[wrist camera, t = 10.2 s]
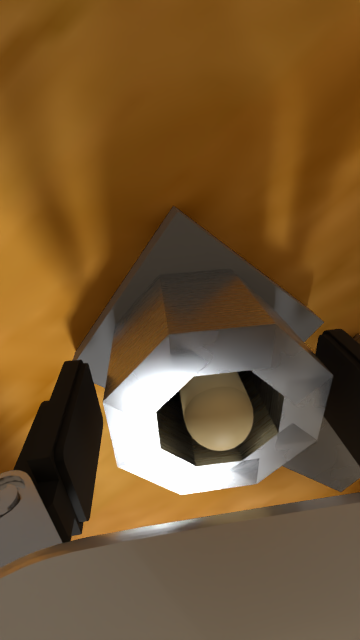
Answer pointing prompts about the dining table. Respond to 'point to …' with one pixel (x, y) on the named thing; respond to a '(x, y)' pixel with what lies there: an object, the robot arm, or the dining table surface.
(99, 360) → the square base with peg
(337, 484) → the stand
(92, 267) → the dining table surface
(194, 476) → the collar
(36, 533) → the robot arm
